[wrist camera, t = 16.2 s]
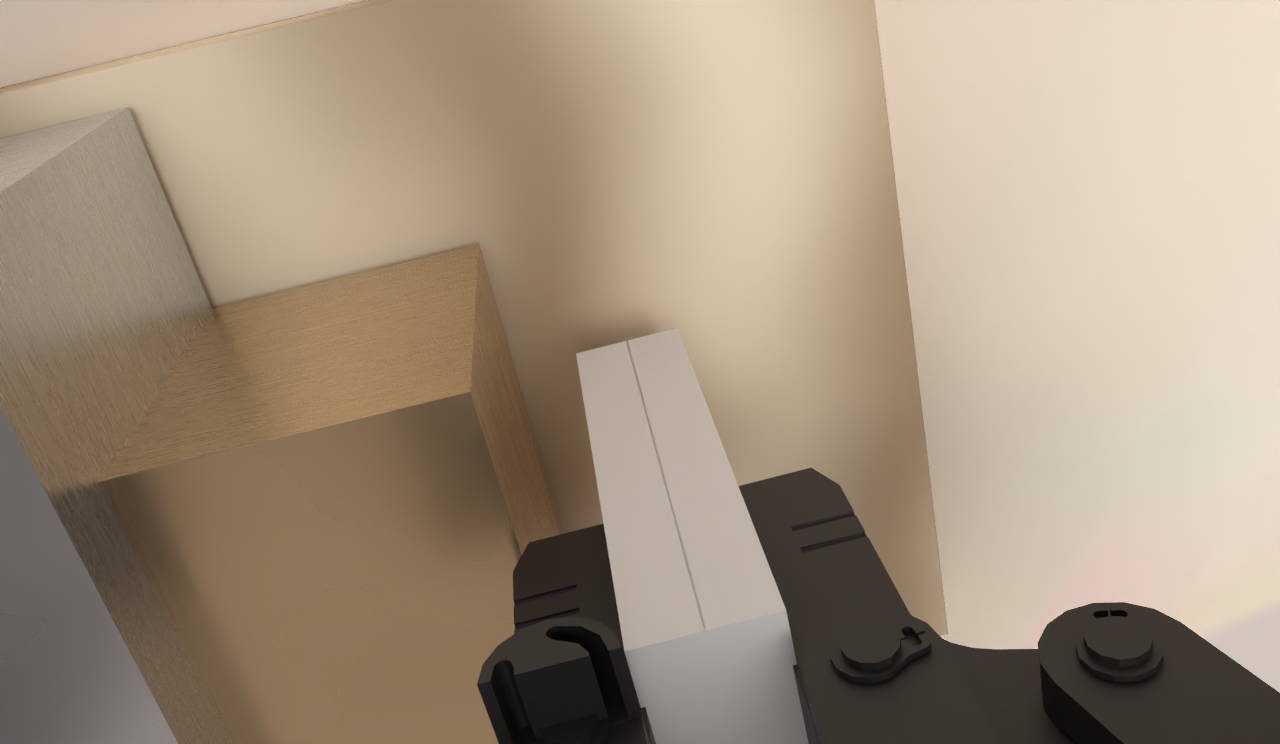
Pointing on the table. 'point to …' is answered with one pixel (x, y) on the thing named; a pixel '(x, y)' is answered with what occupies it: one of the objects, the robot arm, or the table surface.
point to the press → (577, 207)
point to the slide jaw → (243, 479)
